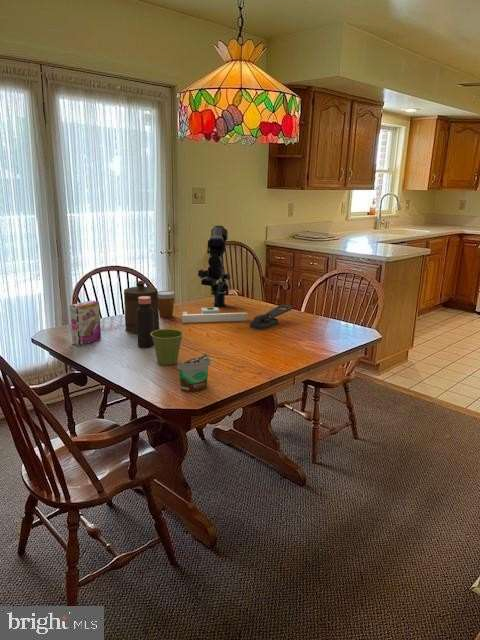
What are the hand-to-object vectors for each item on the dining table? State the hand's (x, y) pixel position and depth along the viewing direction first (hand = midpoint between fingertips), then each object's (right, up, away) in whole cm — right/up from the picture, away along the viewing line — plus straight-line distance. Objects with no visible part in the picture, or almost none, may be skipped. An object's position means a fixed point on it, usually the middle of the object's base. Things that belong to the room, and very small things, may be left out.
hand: (216, 296), depth 232 cm
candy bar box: (-51, -20, -34) cm, 65 cm away
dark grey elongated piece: (+26, -13, -4) cm, 30 cm away
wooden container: (-32, -16, -16) cm, 39 cm away
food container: (-2, -34, -77) cm, 84 cm away
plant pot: (-15, -27, -55) cm, 63 cm away
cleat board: (-1, -11, +2) cm, 11 cm away
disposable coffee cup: (-25, -10, +5) cm, 27 cm away
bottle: (-26, -22, -37) cm, 51 cm away
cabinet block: (-3, -11, +2) cm, 11 cm away
